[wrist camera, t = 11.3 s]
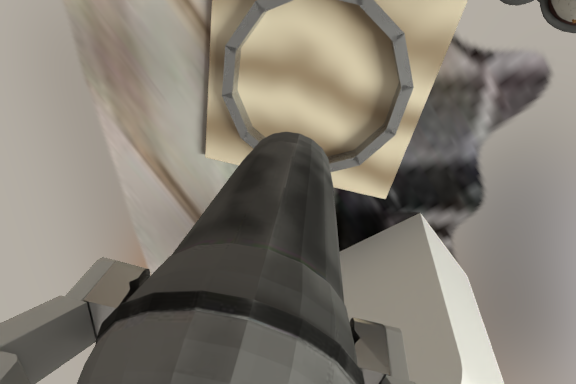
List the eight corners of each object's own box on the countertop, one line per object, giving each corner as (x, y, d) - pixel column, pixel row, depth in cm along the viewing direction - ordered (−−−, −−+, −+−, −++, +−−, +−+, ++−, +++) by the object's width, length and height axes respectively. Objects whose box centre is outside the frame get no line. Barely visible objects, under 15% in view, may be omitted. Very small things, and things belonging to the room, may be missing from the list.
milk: (338, 252, 44) (329, 517, 22) (420, 212, 39) (510, 506, 17) (387, 305, 48) (419, 575, 26) (467, 276, 43) (588, 579, 21)
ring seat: (384, 195, 38) (387, 208, 36) (207, 154, 39) (199, 164, 37) (472, -18, 27) (482, -18, 25) (218, -71, 28) (207, -75, 25)
